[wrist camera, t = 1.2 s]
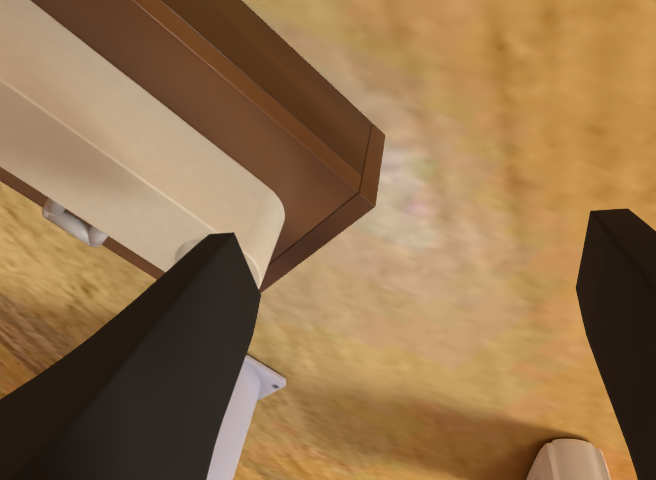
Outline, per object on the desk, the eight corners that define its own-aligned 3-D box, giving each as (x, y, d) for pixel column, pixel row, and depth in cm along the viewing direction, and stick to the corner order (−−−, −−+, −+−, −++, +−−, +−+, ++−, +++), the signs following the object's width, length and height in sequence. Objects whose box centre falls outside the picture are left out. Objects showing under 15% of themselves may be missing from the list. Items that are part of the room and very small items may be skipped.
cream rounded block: (217, 283, 19) (187, 345, 17) (-108, 69, 15) (-209, 112, 13) (301, 211, 16) (279, 276, 14) (-83, -90, 12) (-213, -71, 9)
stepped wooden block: (208, 288, 28) (174, 358, 24) (-70, 106, 22) (-170, 161, 18) (385, 134, 19) (375, 206, 15) (9, -219, 14) (-147, -240, 10)
